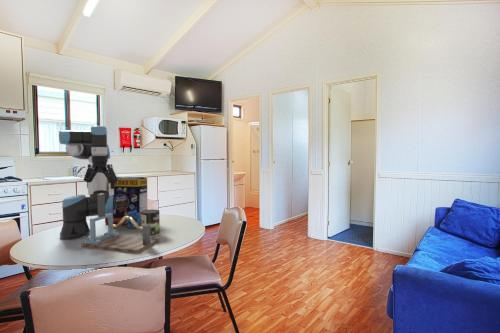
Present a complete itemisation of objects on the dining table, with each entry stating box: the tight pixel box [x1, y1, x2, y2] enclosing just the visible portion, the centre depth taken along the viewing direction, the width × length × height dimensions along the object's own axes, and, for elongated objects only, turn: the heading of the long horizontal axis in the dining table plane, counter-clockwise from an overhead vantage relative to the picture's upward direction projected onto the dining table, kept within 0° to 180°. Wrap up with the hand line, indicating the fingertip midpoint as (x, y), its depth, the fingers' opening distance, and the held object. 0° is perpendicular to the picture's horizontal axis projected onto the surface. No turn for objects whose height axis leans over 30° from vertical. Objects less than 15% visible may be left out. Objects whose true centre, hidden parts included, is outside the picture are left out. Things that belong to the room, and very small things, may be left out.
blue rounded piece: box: [125, 210, 141, 230], centre depth 181 cm, size 12×7×12 cm, turn 74°
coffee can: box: [141, 209, 161, 238], centre depth 167 cm, size 10×10×14 cm
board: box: [81, 234, 160, 254], centre depth 151 cm, size 34×18×2 cm, turn 74°
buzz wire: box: [110, 216, 151, 245], centre depth 149 cm, size 24×3×14 cm, turn 74°
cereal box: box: [104, 176, 148, 226], centre depth 195 cm, size 27×11×32 cm, turn 80°
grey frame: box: [84, 194, 119, 245], centre depth 153 cm, size 8×15×25 cm, turn 164°
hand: (101, 194), depth 152 cm, fingers open, 13 cm apart
